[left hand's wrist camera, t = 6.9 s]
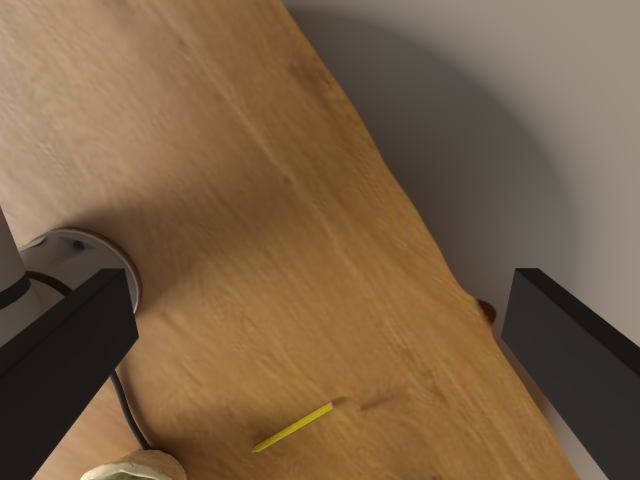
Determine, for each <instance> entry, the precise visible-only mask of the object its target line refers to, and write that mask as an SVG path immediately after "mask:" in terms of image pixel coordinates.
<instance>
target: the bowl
mask: <svg viewBox="0 0 640 480" xmlns="http://www.w3.org/2000/svg"><path fill="white" fill-rule="evenodd" d="M80 480H186V474H185V472H184V469H183V468H182V466H181V465H180V463H179V462H178V460H176V459H175V458H174V457H173V456H171V455H170V454H166V453H164V452H162V451H160V450H139V451H135V452H132V453H130V454H128V455H126V456H124V457H122V458H119V459H117V460H116V461H114V462H111V463H105V464H103V465H100V466H98V467H96V468H94V469H92V470H90V471H88V472H86V473H85V474H84V475H83V477H82V478H81V479H80Z"/></svg>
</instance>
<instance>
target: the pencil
mask: <svg viewBox="0 0 640 480" xmlns="http://www.w3.org/2000/svg"><path fill="white" fill-rule="evenodd" d="M333 408H335V404H334V402H333V401H331V402H329V403H328V404H326V405H324V406H323V407H321V408H319V409H317V410H316V411H314V412H312V413H311V414H309V415H307V416H305V417H304V418H302V419H300V420H299V421H297V422H295V423H294V424H292V425H290V426H288V427H287V428H285V429H283V430H282V431H280V432H278V433H276V434H275V435H273V436H271V437H270V438H268V439H266V440H264V441H263V442H261V443H259V444H258V445H256V446H255V447H254V449H253V450H252V451H251V452H259V451H260V450H262V449H264V448H266V447H267V446H269V445H271V444H273V443H274V442H276V441H278V440H279V439H281V438H283V437H285V436H286V435H288V434H290V433H292V432H293V431H295V430H297V429H298V428H300V427H302V426H304V425H305V424H307V423H309V422H311V421H312V420H314V419H316V418H317V417H319V416H321V415H323V414H324V413H326V412H328V411H330V410H331V409H333ZM251 452H250V453H251Z"/></svg>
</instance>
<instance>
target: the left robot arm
mask: <svg viewBox="0 0 640 480" xmlns="http://www.w3.org/2000/svg"><path fill="white" fill-rule="evenodd" d="M141 297H142V285H141V280H140V277H139V274H138V271H137V269H136V267H135V265H134V264H133V262H132V261H131V259H130V258H129V257H128V255H127V254H126V253H125V252H124V251H123V250H122V249H121V248H120V247H119V246H117V245H116V244H115V243H113V242H112V241H110V240H109V239H107V238H105V237H103V236H101V235H99V234H97V233H94V232H91V231H88V230H83V229H77V228H62V229H56V230H53V231H50V232H47V233H45V234H43V235H41V236H39V237H37V238H35V239H34V240H32V241H31V242H30V243H28V244H27V245H24V246H22V247H20V248H19V249H17V246H16V244H15V241H14V239H13V236H12V234H11V231H10V229H9V226H8V224H7V221H6V219H5V216H4V214H3V211H2V209H1V206H0V480H31V479H32V478H33V477H34V475H35V474H36V473H37V471H38V470H39V469H40V467H41V466H42V465H43V463H44V462H45V461H46V459H47V458H48V457H49V455H50V454H51V453H52V451H53V450H54V449H55V447H56V446H57V445H58V444H59V442H60V441H61V440H62V438H63V437H64V436H65V434H66V433H67V432H68V430H69V429H70V428H71V426H72V425H73V424H74V422H75V421H76V420H77V418H78V417H79V416H80V414H81V413H82V412H83V410H84V409H85V408H86V407H87V405H88V404H89V403H90V401H91V400H92V399H93V397H94V396H95V395H96V393H97V392H98V391H99V389H100V388H101V387H102V385H103V384H104V383H105V381H106V380H107V379H108V377H109V376H110V378H111V380H112V382H113V384H114V387H115V389H116V392H117V395H118V398H119V401H120V404H121V407H122V410H123V413H124V415H125V418H126V420H127V422H128V424H129V426H130V428H131V430H132V432H133V433H134V435H135V437H136V438H137V440H138V441H139V443H140V444H141V446H142V447H143V449H144V450H151V448H150V446H149V444H148V443H147V441H146V440H145V438H144V437H143V435H142V433H141V432H140V430H139V428H138V427H137V425H136V423H135V421H134V419H133V417H132V414H131V412H130V409H129V407H128V404H127V401H126V397H125V394H124V391H123V388H122V386H121V383H120V380H119V378H118V376H117V374H116V372H115V368H116V367H117V366H118V364H119V363H120V362H121V360H122V359H123V358H124V356H125V355H126V354H127V352H128V351H129V350H130V348H131V347H132V346H133V344H134V343H135V342H136V340H137V339H138V338H139V335H138V330H137V326H136V321H135V316H134V314H135V313H136V311H137V309H138V307H139V305H140V302H141ZM501 338H502V339H503V340H504V342H505V343H506V344H507V346H508V347H509V348H510V350H511V351H512V352H513V354H514V355H515V356H516V358H517V359H518V360H519V362H520V363H521V364H522V366H523V367H524V368H525V370H526V371H527V372H528V374H529V375H530V376H531V377H532V379H533V380H534V381H535V383H536V384H537V385H538V387H539V388H540V389H541V391H542V392H543V393H544V395H545V396H546V397H547V399H548V400H549V401H550V403H551V404H552V405H553V407H554V408H555V409H556V411H557V412H558V413H559V414H560V416H561V417H562V418H563V420H564V421H565V422H566V424H567V425H568V426H569V428H570V429H571V430H572V432H573V433H574V434H575V436H576V437H577V438H578V440H579V441H580V442H581V444H582V445H583V446H584V447H585V449H586V450H587V451H588V453H589V454H590V455H591V457H592V458H593V459H594V461H595V462H596V463H597V465H598V466H599V467H600V469H601V470H602V471H603V473H604V474H605V475H606V476H607V478H608V479H609V480H640V347H638V346H637V345H636V344H635V343H633V342H632V341H631V340H629V339H628V338H627V337H626V336H624V335H623V334H622V333H620V332H619V331H618V330H617V329H615V328H614V327H613V326H611V325H610V324H609V323H608V322H606V321H605V320H604V319H603V318H601V317H600V316H599V315H597V314H596V313H595V312H593V311H592V310H591V309H590V308H588V307H587V306H586V305H585V304H583V303H582V302H581V301H579V300H578V299H577V298H576V297H574V296H573V295H572V294H570V293H569V292H568V291H567V290H565V289H564V288H563V287H561V286H560V285H559V284H558V283H556V282H555V281H554V280H553V279H551V278H550V277H549V276H547V275H546V274H545V273H544V272H542V271H541V270H540V269H538V268H516V269H515V272H514V277H513V282H512V287H511V292H510V297H509V301H508V306H507V311H506V316H505V321H504V326H503V330H502V335H501Z"/></svg>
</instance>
